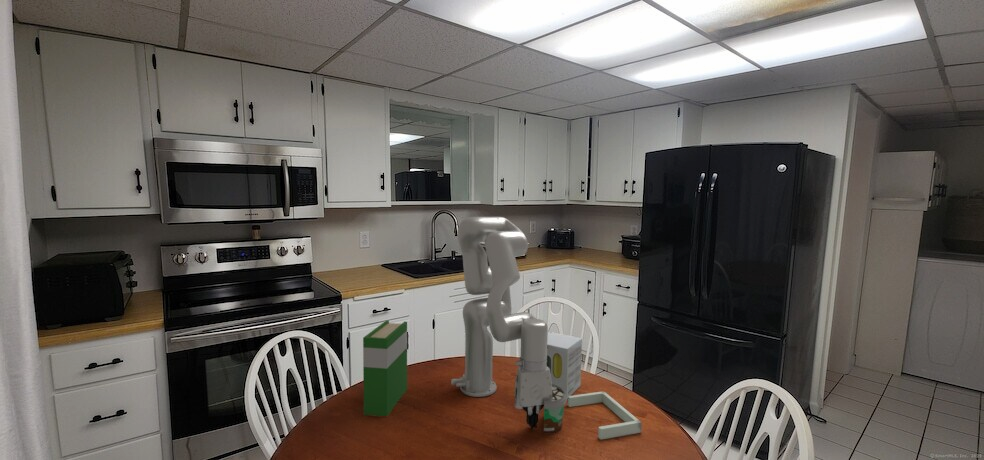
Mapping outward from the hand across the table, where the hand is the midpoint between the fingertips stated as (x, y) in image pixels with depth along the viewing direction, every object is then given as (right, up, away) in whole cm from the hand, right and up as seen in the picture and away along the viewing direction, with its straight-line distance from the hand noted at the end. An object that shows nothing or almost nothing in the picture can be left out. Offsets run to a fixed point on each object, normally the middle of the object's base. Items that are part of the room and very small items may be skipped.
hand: (532, 425), depth 114 cm
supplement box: (+11, 0, +26) cm, 29 cm away
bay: (+21, -1, +7) cm, 22 cm away
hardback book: (-46, 0, +15) cm, 48 cm away
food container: (+7, -1, +2) cm, 8 cm away
